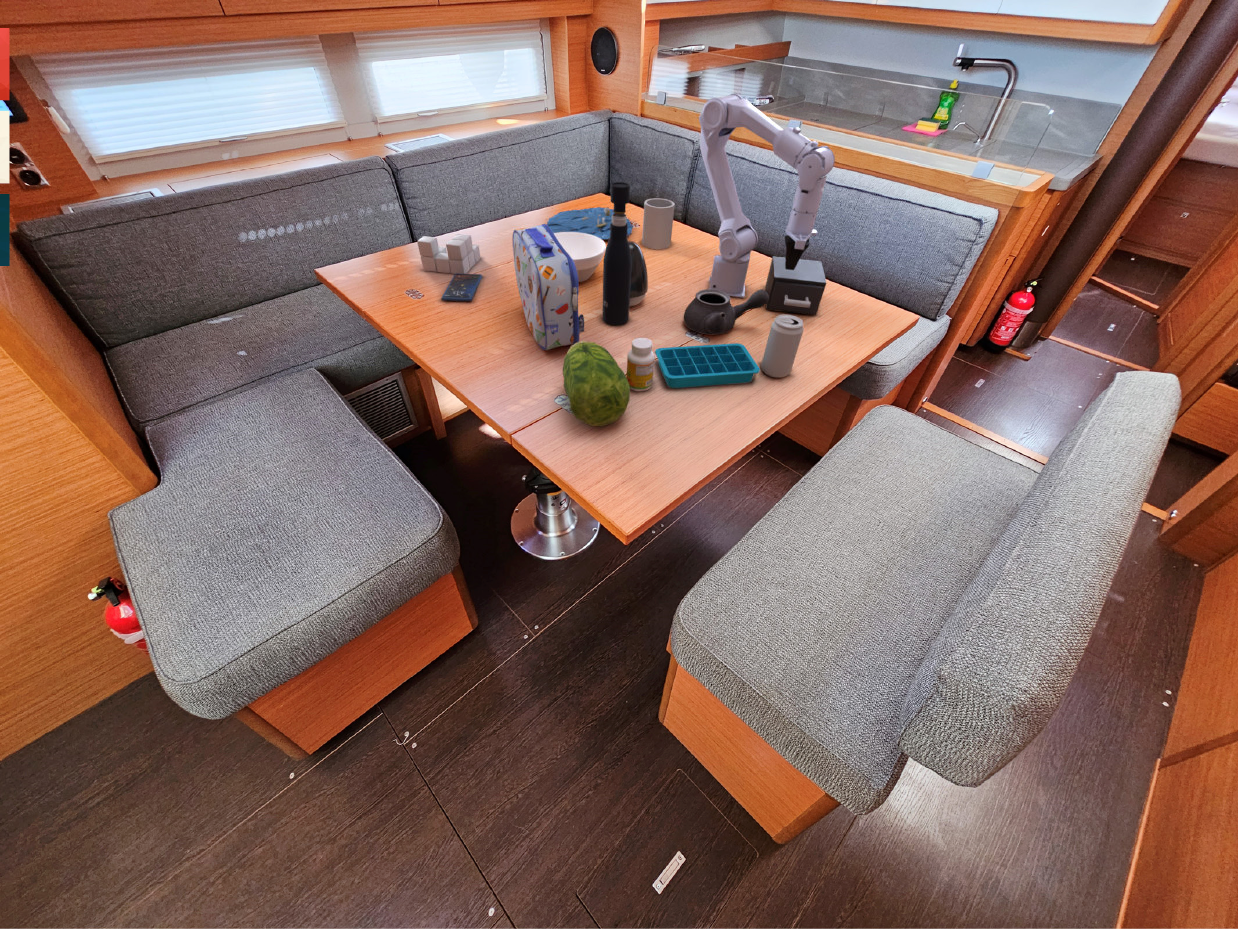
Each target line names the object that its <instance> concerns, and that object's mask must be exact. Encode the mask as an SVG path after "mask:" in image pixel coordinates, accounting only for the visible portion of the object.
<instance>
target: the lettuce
mask: <svg viewBox="0 0 1238 929" xmlns="http://www.w3.org/2000/svg"><path fill="white" fill-rule="evenodd" d="M626 375H627V374H626V373H625V372H624V371H623V369H622V368H621V367H620V366H619V364H618V362H617V361H616V359H615V358H614V357H613V355H612V354H611V353H610V351H608V350H607V349H606V348H605V347H604V346H602V345H601V344H598V343H597V342H595V341H594V342H593V341H588V340H587V341H586V340H581V341H579V342H577V343H575V344H574V345H571V346H570V347H569V348H568V350H567V353H566V354H565V355H564V358H563V364H562V376H563V388H564V391H565V394H566V396H567V398H568V401H569V409H570V411H571V413H572V415H573V416H574V417H575V419H577V420H578V421H580V422H581V423H583V424H585V425H588V426H591V427H592V426H593V427H604V426H608V425H611V424H613V423H614V422H616V421H618V420H619V419H620V418H621V417H622V416H623V415H624V414H625V412H626V410H627V407H628V405H629V403H630V401H631V400H630V399H631V389H630V387H629V383H628V380H627V378H626Z"/></svg>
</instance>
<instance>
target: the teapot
mask: <svg viewBox="0 0 1238 929" xmlns="http://www.w3.org/2000/svg"><path fill="white" fill-rule="evenodd" d="M731 300H732V298H731V296H729V295H728V294H727V293H725V292H723V291H719V290H715V289H709V288H706V289H701V290H699V291H697V292H696V293H695V297H694V298H693V299H692V300H691V301H690V303H689V304H688V305H687V306H686V308H685V310H684V313H683V322H684V325H685V326H686V327H687V328H688V329H690V330H691V331H694V332H696V333H698V334H704V335H708V336H709V335H710V336H712V335H713V336H715V335H722V334H723V335H724V334H727V333H728V332H731V331H732V330H733V329H734V327H735V324H736V321H737V320H738V319H739V318H740V317H742V316H743V315H744V314H745V313H746V312H747V311H750V310H756V309H761V308H762V307H764V306H766V304H767V303H768V301H769V295H768V294H767V292H766V291H765V289H763V288H762V289H757V290H755V291H754V292H753V293H752V294H751V295H750V296H749V297H748V299H747V300H746V301H744V302H743V303H740V304H736V305H734V306H733V305H732V304H731Z"/></svg>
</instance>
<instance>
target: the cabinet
mask: <svg viewBox="0 0 1238 929" xmlns="http://www.w3.org/2000/svg"><path fill="white" fill-rule="evenodd" d="M785 259H786V256H785V257H783V256H776V255H774V256H772V257H771V262H770V265H769V269H768V274H767V279H766V282H765V286H764V290H765V291H766V292H767V294H768V295H769V301H768V303H767V304H766V305H765V310H768V311H776V312H784V313H792V314H801V315H810V316H817V315H818V314H817V313H818V310H819V307H820V305H821V303H822V302H821V300H823V296H824V292H825V289H826V286H827V279H826V275H825V271H824V267H823V263H822V261H820V260H811V259H802V258H800V259H799V261H798V263H797V265H796V267H795V269H794V270H787V269H786V268H785ZM776 281H786V282H795V283H804V284H813V285H819V286H823V291H822V294H821V297H820V300H819V303H818V307H817V310H816V313H815V314H811V313H803V312H794V311H786V310H778V309H770V308H769V306H770V302H771V298H772V294H773V290H774V286H775V282H776Z"/></svg>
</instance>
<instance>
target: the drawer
mask: <svg viewBox="0 0 1238 929" xmlns="http://www.w3.org/2000/svg"><path fill="white" fill-rule="evenodd" d="M822 291H823V286H819V285H813V284H804V283H795V282H786V281H776V282H775V286H774V290H773V294H772V298H771V302H770V306H769V308H770V309H778V310H786V311H794V312H803V313H811V314H815V313H816V310H817V307H818V303H819V300H820V297H821V294H822Z"/></svg>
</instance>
